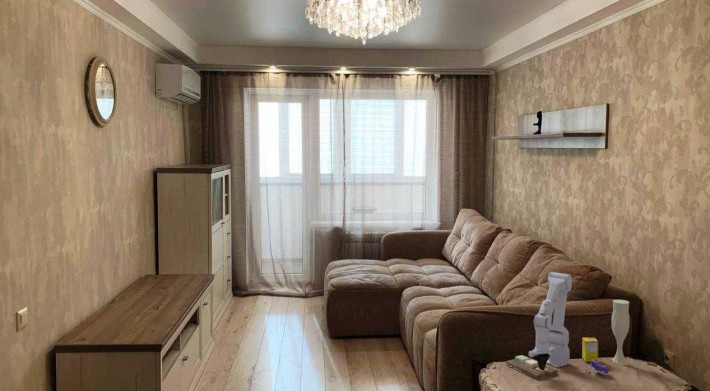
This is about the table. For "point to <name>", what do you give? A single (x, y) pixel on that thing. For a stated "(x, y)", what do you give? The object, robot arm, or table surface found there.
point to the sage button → (521, 359)
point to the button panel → (532, 369)
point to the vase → (620, 326)
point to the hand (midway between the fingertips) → (541, 369)
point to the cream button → (531, 363)
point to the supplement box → (589, 349)
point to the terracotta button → (541, 370)
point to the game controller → (598, 367)
